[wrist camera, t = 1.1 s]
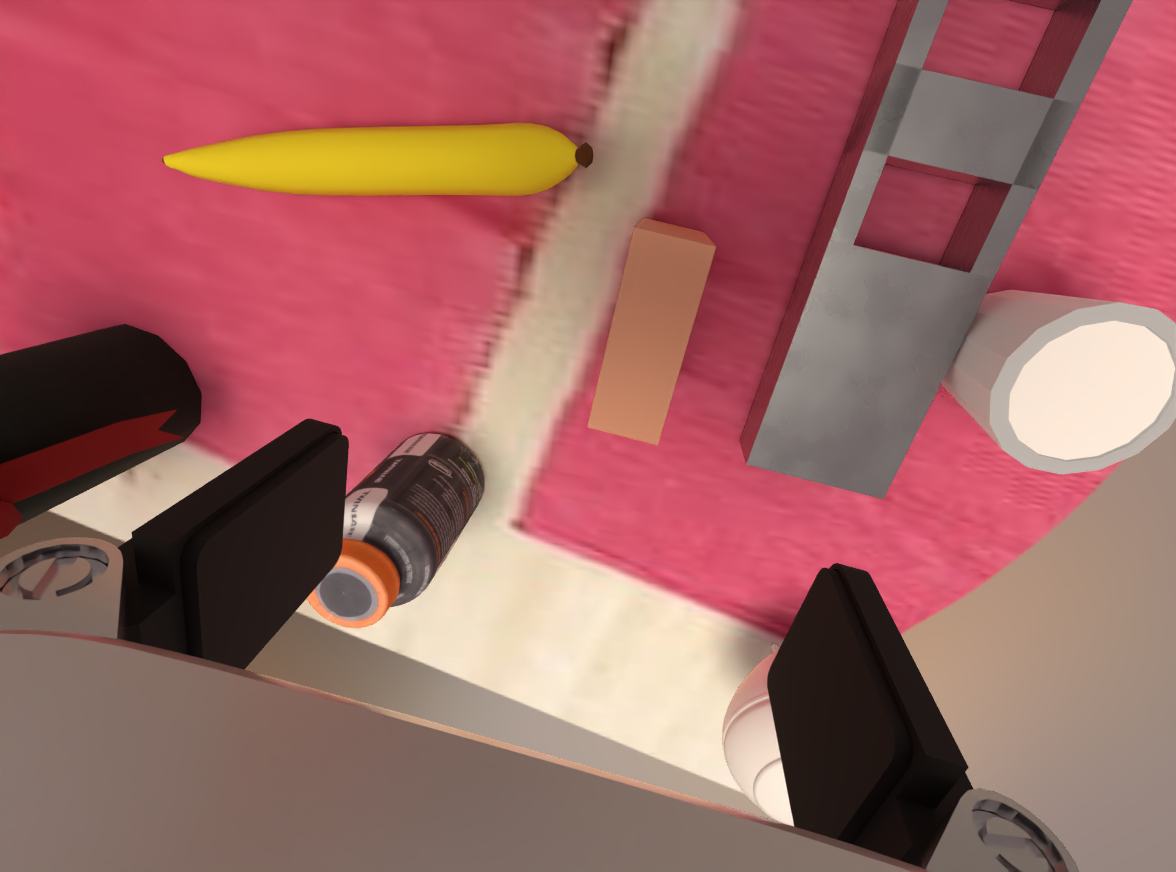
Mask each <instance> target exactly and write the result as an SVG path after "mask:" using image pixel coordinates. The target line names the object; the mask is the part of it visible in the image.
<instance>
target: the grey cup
mask: <svg viewBox="0 0 1176 872" xmlns="http://www.w3.org/2000/svg"><path fill="white" fill-rule="evenodd" d="M941 384H942V386H943V387H944V388H945V389H946V390H947V391H948V393H949V394H950V395H951V396H952V397H953V398H954V399H955V400H956V401H957V402H958V403H959V404H960V405H961V406H962V407H963V408H964V409H965V411H966V412H967V413H968V414H969V415H970V416H971V417H972V418H973V419H974V420H975V421H976V422H977V423H978V424H979V425H980V426H981V427H982V429H983V430H984V431H985V432H986V433H987V434H988V435H989V436H990V437H991V438H992V439H993V440H994V441H995V442H996V443H997V444H998V445H999V447H1000V448H1001V449H1002V450H1004V451H1005V452H1007V453H1008V454H1009V455H1011V456H1012V457H1014V458H1015V459H1016V460H1018V461H1019V462H1021V463H1022V464H1023V465H1025V466H1026V467H1028V468H1033V469H1038V470H1043V471H1047V472H1052V473H1057V474H1069V473H1077V472H1086V471H1094V470H1100V469H1103V468H1105V467H1107V466H1110V465H1112V464H1114V463H1117V462H1119V461H1122V460H1124V459H1126V458H1129V457H1131V456H1133V455H1136V454H1138V453H1139V452H1140V451H1141V450H1143V449H1144V448H1145V447H1146V446H1147V445H1149V444H1150V443H1151V442H1153V441H1154V440H1155V439H1156V438H1158V437H1159V436H1160V435H1161V434H1162V433H1164V432H1165V431H1166V430H1167V429H1168V428H1170V426H1171V424H1172V423H1173V421H1174V420H1175V418H1176V323H1174V322H1173V321H1172V320H1171V319H1169V318H1168V317H1167V316H1165V315H1164V314H1163V313H1162V312H1160V311H1159V310H1157V309H1152V308H1147V307H1142V306H1137V305H1131V304H1126V303H1121V302H1114V301H1105V300H1097V299H1088V298H1080V297H1071V296H1062V295H1054V294H1045V293H1037V292H1028V291H1019V290H1011V289H1010V290H1005V291H999V292H993V293H988V294H986V295H985V297H984V299H983V301H982V303H981V305H980V307H979V309H978V311H977V313H976V315H975V317H974V319H973V321H972V323H971V325H970V327H969V329H968V331H967V333H966V335H965V337H964V339H963V341H962V343H961V345H960V347H959V349H958V351H957V353H956V355H955V357H954V359H953V361H952V363H951V365H950V367H949V369H948V371H947V373H946V375H945V377H944V379H943V381H942V383H941Z"/></svg>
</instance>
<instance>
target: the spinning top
mask: <svg viewBox="0 0 1176 872" xmlns="http://www.w3.org/2000/svg"><path fill="white" fill-rule="evenodd" d="M771 647H772V651H773V653H772V654H770V655H769V656H767V657H766V658H764V659H763V660H762V661H761V662H760V663H759V664H758V665H757V666H756V667H755V668H754V669H753V670H752V671H751V672H750V673H749V674H748V675H747V677H746V678H745V679H744V680H743V681H742V682H741V684H740V686H739V687H738V689H737V691H736V693H735V694H734V696H733V698H732V700H731V702H730V704H729V707H728V709H727V712H726V715H725V718H724V723H723V737H722V744H723V751H724V755H725V759H726V762H727V765H728V768H729V770H730V772H731V774H732V776H733V778H734V780H735V781H736V783H737V784H738V786H739V787H740V788H741V790H742V791H743V792H744V793H745V794H746V795H747V797H749V798H750V799H751V800H752V801H753V802H754V803H755V804H756V805H757V806H759V807H760V808H761V809H762V810H763V811H764V812H765V813H766V814H767V815H768V816H770V817H772V818H773V819H775V820H777V821H779V822H781V823H784V824H787V825H790V826H794V823H793V818H792V813H791V808H790V802H789V797H788V792H787V787H786V782H785V777H784V771H783V766H782V761H781V756H780V751H779V746H778V740H777V735H776V730H775V725H774V720H773V714H772V709H771V704H770V699H769V694H768V689H767V677H768V672H769V669H770V666H771V664H772V662H773V660H774V659H775V657H776V655H777V653H778V651H779V650H778V646H777V645H776V644H773V645H772V646H771Z"/></svg>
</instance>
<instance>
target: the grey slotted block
mask: <svg viewBox="0 0 1176 872" xmlns="http://www.w3.org/2000/svg"><path fill="white" fill-rule="evenodd" d="M948 1H949V0H898V2H897V5H896V8H895V11H894V13H893V16H892V19H891V22H890V25H889V27H888V30H887V33H886V36H885V38H884V41H883V44H882V47H881V50H880V52H879V55H878V58H877V61H876V63H875V66H874V69H873V72H872V75H871V77H870V80H869V83H868V86H867V88H866V91H865V94H864V97H863V100H862V102H861V105H860V108H859V111H858V113H857V116H856V119H855V122H854V125H853V127H852V130H851V133H850V136H849V138H848V141H847V144H846V147H845V150H844V152H843V155H842V158H841V161H840V163H839V166H838V169H837V172H836V175H835V177H834V180H833V183H832V186H831V188H830V191H829V194H828V197H827V200H826V202H825V205H824V208H823V211H822V213H821V216H820V219H819V222H818V225H817V227H816V230H815V233H814V236H813V238H812V241H811V244H810V247H809V250H808V252H807V255H806V258H805V261H804V263H803V266H802V269H801V272H800V275H799V277H798V280H797V283H796V286H795V288H794V291H793V294H792V297H791V300H790V302H789V305H788V308H787V311H786V313H785V316H784V319H783V322H782V325H781V327H780V330H779V333H778V336H777V338H776V341H775V344H774V347H773V350H772V352H771V355H770V358H769V361H768V363H767V366H766V369H765V372H764V375H763V377H762V380H761V383H760V386H759V388H758V391H757V394H756V397H755V400H754V402H753V405H752V408H751V411H750V413H749V416H748V419H747V422H746V424H745V427H744V430H743V433H742V436H741V438H740V444H741V448H742V451H743V455H744V458H745V462H746V465H750V466H754V467H758V468H762V469H766V470H770V471H774V472H778V473H782V474H786V475H790V476H794V477H798V478H802V479H806V480H810V481H814V482H818V483H822V484H826V485H830V486H833V487H837V488H841V489H845V490H849V491H853V492H857V493H861V494H865V495H869V496H873V497H877V498H881V499H884V497H885V495H886V493H887V491H888V489H889V487H890V485H891V483H892V481H893V479H894V477H895V475H896V473H897V471H898V469H899V467H900V465H901V463H902V461H903V459H904V457H905V455H906V453H907V451H908V449H909V447H910V445H911V443H912V441H913V439H914V437H915V435H916V433H917V431H918V429H919V427H920V425H921V423H922V421H923V419H924V417H925V415H926V413H927V411H928V409H929V407H930V405H931V403H932V401H933V399H934V397H935V395H936V393H937V391H938V389H939V387H940V385H941V383H942V381H943V379H944V377H945V375H946V373H947V371H948V369H949V367H950V365H951V363H952V361H953V359H954V357H955V355H956V353H957V351H958V349H959V347H960V345H961V343H962V341H963V339H964V337H965V335H966V333H967V331H968V329H969V327H970V325H971V323H972V321H973V319H974V317H975V315H976V313H977V311H978V309H979V307H980V305H981V303H982V301H983V299H984V297H985V295H986V293H987V291H988V289H989V287H990V285H991V283H992V281H993V279H994V277H995V275H996V273H997V271H998V269H999V267H1000V265H1001V263H1002V261H1003V259H1004V257H1005V255H1006V253H1007V251H1008V249H1009V247H1010V245H1011V243H1012V241H1013V239H1014V237H1015V235H1016V233H1017V231H1018V229H1019V227H1020V225H1021V223H1022V221H1023V219H1024V217H1025V215H1026V213H1027V211H1028V209H1029V207H1030V205H1031V203H1032V201H1033V199H1034V197H1035V195H1036V193H1037V191H1038V189H1039V187H1040V185H1041V183H1042V181H1043V179H1044V177H1045V175H1046V173H1047V171H1048V169H1049V167H1050V165H1051V163H1052V161H1053V159H1054V157H1055V155H1056V153H1057V151H1058V149H1059V147H1060V145H1061V143H1062V141H1063V139H1064V137H1065V135H1066V133H1067V131H1068V129H1069V127H1070V125H1071V123H1072V121H1073V119H1074V117H1075V115H1076V113H1077V111H1078V109H1079V107H1080V105H1081V103H1082V101H1083V99H1084V97H1085V95H1086V93H1087V91H1088V89H1089V87H1090V85H1091V83H1092V81H1093V79H1094V77H1095V75H1096V73H1097V71H1098V69H1099V67H1100V65H1101V63H1102V61H1103V59H1104V57H1105V55H1106V53H1107V51H1108V49H1109V47H1110V45H1111V43H1112V41H1113V39H1114V37H1115V35H1116V33H1117V31H1118V29H1119V27H1120V25H1121V23H1122V21H1123V19H1124V17H1125V15H1126V13H1127V11H1128V9H1129V7H1130V5H1131V3H1132V1H1133V0H1011V1H1015V2H1020V3H1024V4H1029V5H1033V6H1038V7H1043V8H1047V9H1052V10H1056V11H1055V13H1054V15H1053V17H1052V19H1051V22H1050V24H1049V26H1048V28H1047V30H1046V33H1045V35H1044V37H1043V39H1042V41H1041V44H1040V46H1039V48H1038V50H1037V52H1036V55H1035V57H1034V59H1033V61H1032V63H1031V65H1030V68H1029V70H1028V72H1027V74H1026V76H1025V79H1024V81H1023V83H1022V85H1021V87H1020V90H1019V91H1017V90H1012V89H1008V88H1004V87H999V86H995V85H990V84H986V83H981V82H977V81H973V80H968V79H964V78H959V77H955V76H950V75H946V74H942V73H937V72H933V71H928V70H924V69H922V67H923V65H924V62H925V60H926V57H927V55H928V52H929V49H930V47H931V44H932V42H933V39H934V37H935V34H936V32H937V29H938V26H939V24H940V21H941V19H942V16H943V14H944V11H945V8H946V6H947V3H948ZM885 164H888V165H892V166H896V167H901V168H905V169H909V170H913V171H918V172H922V173H926V174H931V175H935V176H939V177H944V178H948V179H952V180H957V181H961V182H965V183H969V184H974V185H976V186H975V188H974V190H973V192H972V195H971V197H970V199H969V201H968V203H967V206H966V208H965V210H964V212H963V214H962V217H961V219H960V221H959V223H958V225H957V228H956V230H955V232H954V234H953V236H952V238H951V241H950V243H949V245H948V247H947V249H946V252H945V254H944V256H943V258H942V260H941V263H940V265H939V264H935V263H930V262H926V261H922V260H918V259H914V258H909V257H905V256H901V255H897V254H892V253H888V252H884V251H880V250H876V249H871V248H867V247H863V246H859V245H855V244H854V242H855V239H856V237H857V234H858V231H859V229H860V226H861V224H862V221H863V219H864V216H865V214H866V211H867V208H868V206H869V203H870V201H871V198H872V196H873V193H874V190H875V188H876V185H877V183H878V180H879V178H880V175H881V173H882V170H883V167H884V165H885Z"/></svg>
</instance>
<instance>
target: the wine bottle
mask: <svg viewBox="0 0 1176 872" xmlns="http://www.w3.org/2000/svg"><path fill="white" fill-rule="evenodd" d="M200 414H201V392H200V390H199V388H198V386H197V384H196V382H195V380H194V377H193V375H192V373H191V371H190V369H189V367H188V365H187V363H186V361H185V360H184V359H183V358H181V357H180V356H179V355H178V354H177V353H176V352H175V351H174V350H173V349H172V348H171V347H169V346H168V345H167V344H166V343H165V342H164V341H163V340H162V339H161V338H160V337H159V336H157V335H154V334H151V333H149V332H146V331H143V330H140V329H137V328H134V327H132V326H129V325H126V324H124V325H119V326H114V327H110V328H105V329H101V330H96V331H92V332H88V333H85V334H81V335H77V336H73V337H69V338H65V339H61V340H57V341H53V342H49V343H45V344H41V345H37V346H33V347H29V348H25V349H21V350H17V351H13V352H9V353H6V354H2V355H0V539H2V538H4V537H6V536H8V535H9V534H10V533H11V532H12V531H13V530H14V528H15V527H16V526H18V525H19V524H22V523H24V522H26V521H28V520H30V519H31V518H33V517H35V516H37V515H39V514H41V513H43V512H45V511H47V510H49V509H51V508H53V507H55V506H57V505H59V504H61V503H63V502H65V501H67V500H69V499H71V498H73V497H75V496H77V495H79V494H81V493H83V492H85V491H87V490H89V489H91V488H93V487H95V486H97V485H99V484H101V483H103V482H105V481H107V480H109V479H111V478H113V477H115V476H117V475H119V474H121V473H123V472H125V471H127V470H129V469H130V468H132V467H134V466H136V465H138V464H140V463H142V462H144V461H146V460H148V459H150V458H152V457H154V456H156V455H158V454H160V453H162V452H164V451H166V450H168V449H170V448H172V447H174V446H176V445H178V444H180V443H182V442H184V441H185V440H186V439H187V438H188V436H189V435H190V434H191V433H192V432H193V431H194V429H195V428H196V427H197V426H198V425H199V424H200Z"/></svg>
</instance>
